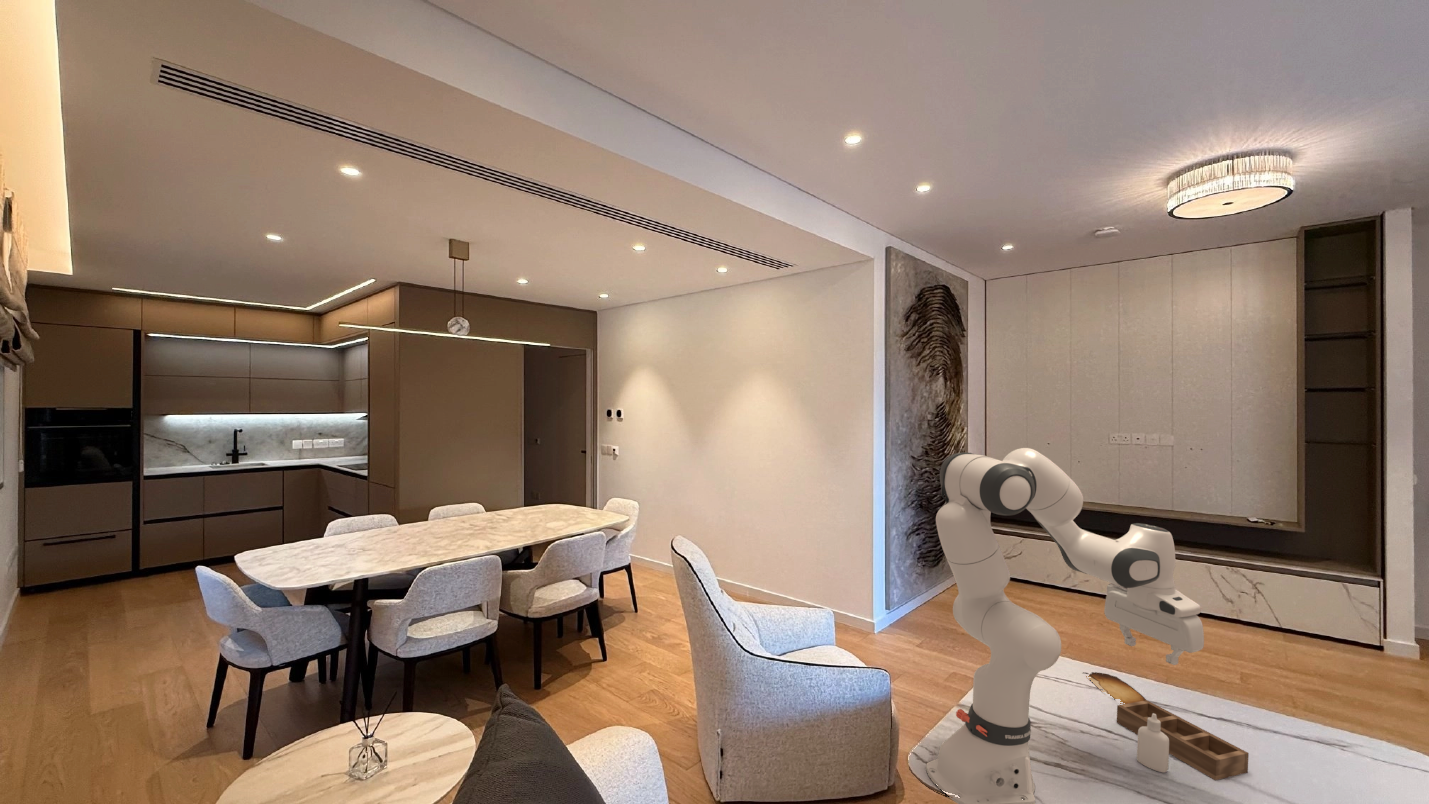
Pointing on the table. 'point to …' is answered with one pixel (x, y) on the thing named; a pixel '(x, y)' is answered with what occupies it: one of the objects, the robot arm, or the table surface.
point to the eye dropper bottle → (1153, 746)
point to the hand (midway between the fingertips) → (1150, 653)
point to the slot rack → (1187, 741)
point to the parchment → (1115, 687)
